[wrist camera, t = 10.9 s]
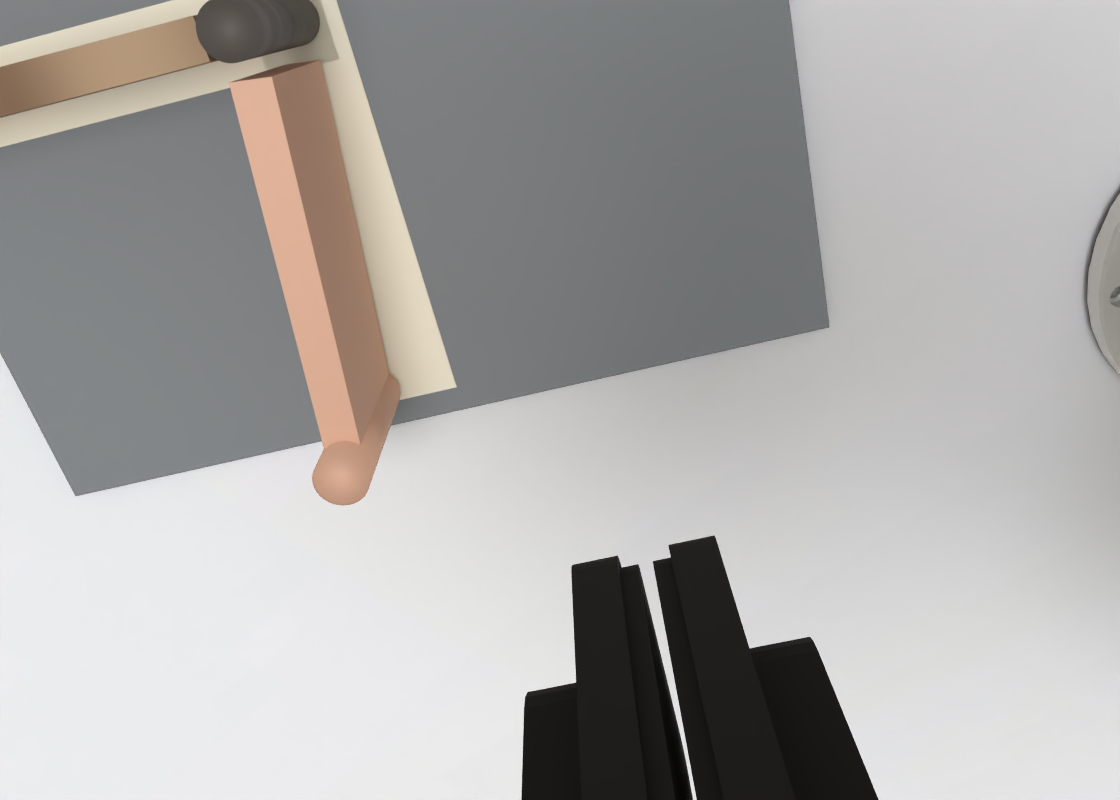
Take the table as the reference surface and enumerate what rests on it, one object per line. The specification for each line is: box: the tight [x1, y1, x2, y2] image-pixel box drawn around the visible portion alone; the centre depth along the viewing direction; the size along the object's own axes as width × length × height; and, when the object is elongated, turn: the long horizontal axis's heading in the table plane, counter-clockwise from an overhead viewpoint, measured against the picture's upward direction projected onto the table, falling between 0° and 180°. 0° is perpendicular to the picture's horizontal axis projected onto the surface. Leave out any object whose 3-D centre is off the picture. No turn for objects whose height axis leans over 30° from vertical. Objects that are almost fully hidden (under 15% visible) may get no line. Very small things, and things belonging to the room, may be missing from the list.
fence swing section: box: [229, 60, 401, 505], centre depth 30 cm, size 13×2×7 cm, turn 7°
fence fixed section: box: [0, 0, 320, 118], centre depth 28 cm, size 15×2×7 cm, turn 103°
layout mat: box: [0, 0, 829, 496], centre depth 32 cm, size 31×22×1 cm
